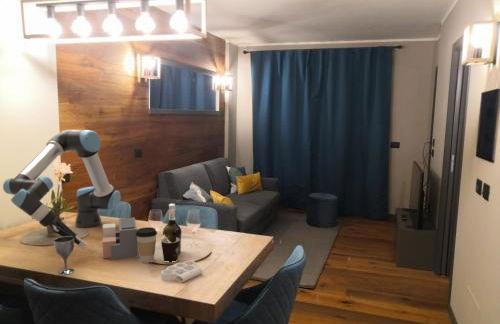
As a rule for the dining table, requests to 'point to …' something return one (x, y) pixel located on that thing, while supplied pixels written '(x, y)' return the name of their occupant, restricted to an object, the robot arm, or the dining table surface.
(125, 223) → the console
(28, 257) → the dining table surface
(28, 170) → the robot arm
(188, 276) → the grey muffin tray
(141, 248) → the coffee cup
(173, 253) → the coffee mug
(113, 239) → the terracotta key
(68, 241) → the wine glass
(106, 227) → the cream key
